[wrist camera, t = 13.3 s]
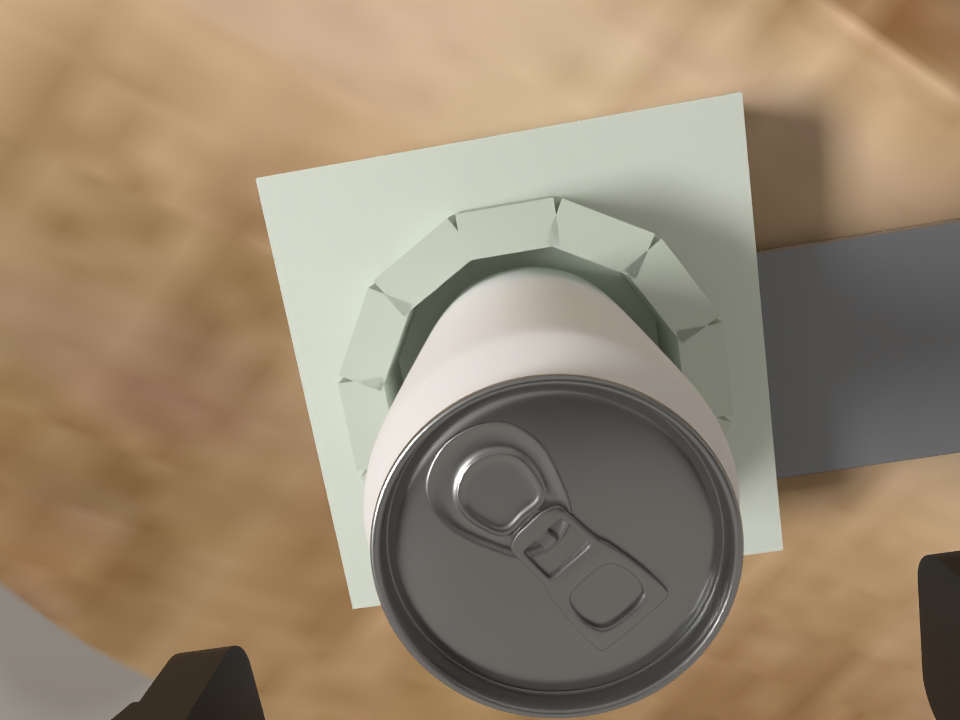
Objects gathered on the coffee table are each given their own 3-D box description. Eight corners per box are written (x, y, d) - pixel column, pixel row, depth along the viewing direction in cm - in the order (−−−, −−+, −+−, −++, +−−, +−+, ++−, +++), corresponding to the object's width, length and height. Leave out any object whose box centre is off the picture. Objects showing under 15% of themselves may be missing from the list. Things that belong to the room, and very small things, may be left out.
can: (532, 217, 22) (561, 248, 10) (683, 371, 23) (865, 560, 11) (380, 370, 23) (252, 553, 12) (529, 511, 24) (551, 815, 12)
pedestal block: (705, 106, 25) (780, 76, 18) (744, 499, 28) (821, 600, 21) (292, 179, 26) (217, 176, 19) (373, 552, 29) (332, 664, 22)
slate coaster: (990, 213, 26) (1005, 214, 25) (995, 438, 27) (1010, 445, 26) (749, 252, 26) (757, 254, 25) (769, 470, 28) (777, 478, 27)
